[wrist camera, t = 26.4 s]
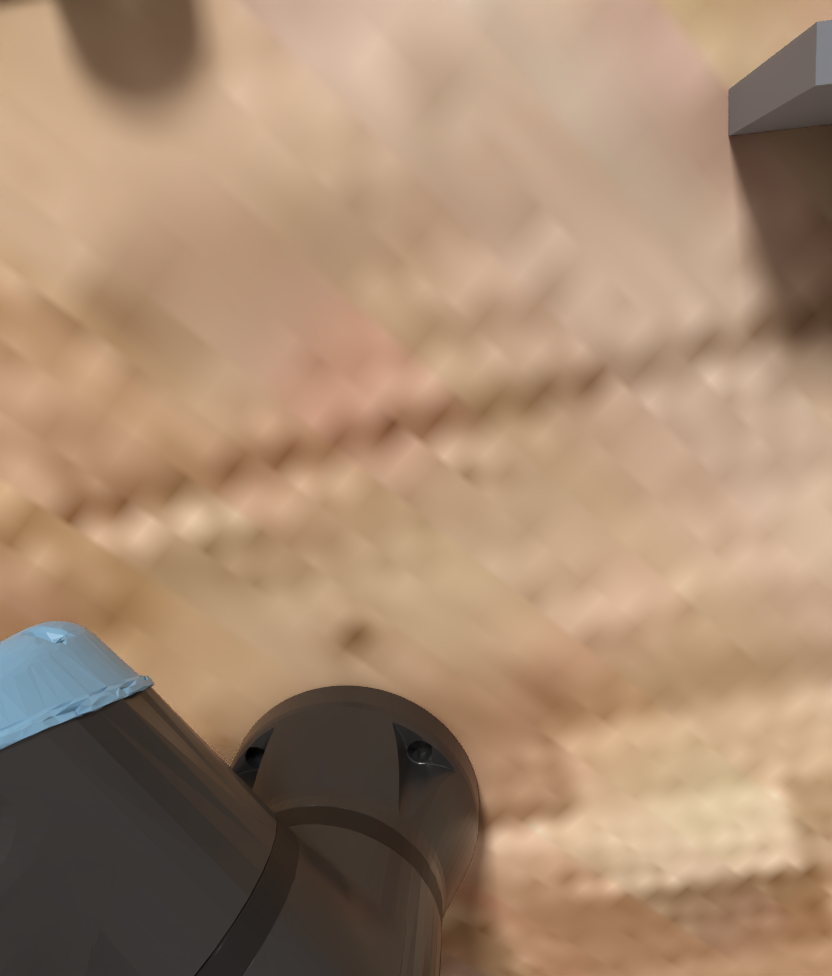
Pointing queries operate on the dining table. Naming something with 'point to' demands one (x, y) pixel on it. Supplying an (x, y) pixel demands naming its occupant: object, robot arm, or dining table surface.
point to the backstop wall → (787, 87)
